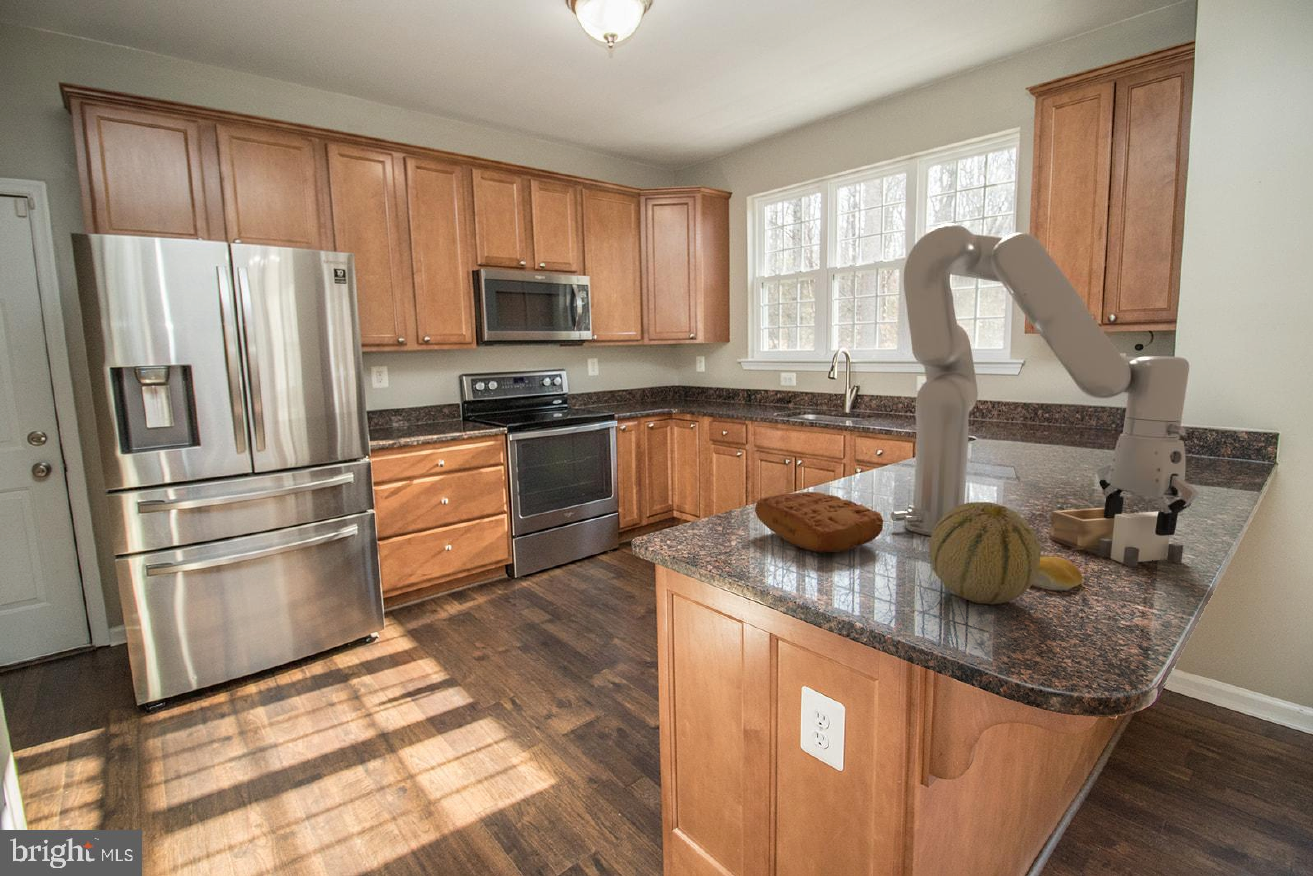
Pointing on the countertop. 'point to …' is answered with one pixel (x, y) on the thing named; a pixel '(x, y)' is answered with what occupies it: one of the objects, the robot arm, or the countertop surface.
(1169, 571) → the countertop surface
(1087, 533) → the open wooden box
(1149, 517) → the white block
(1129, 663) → the countertop surface
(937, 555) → the cantaloupe
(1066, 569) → the bread roll
